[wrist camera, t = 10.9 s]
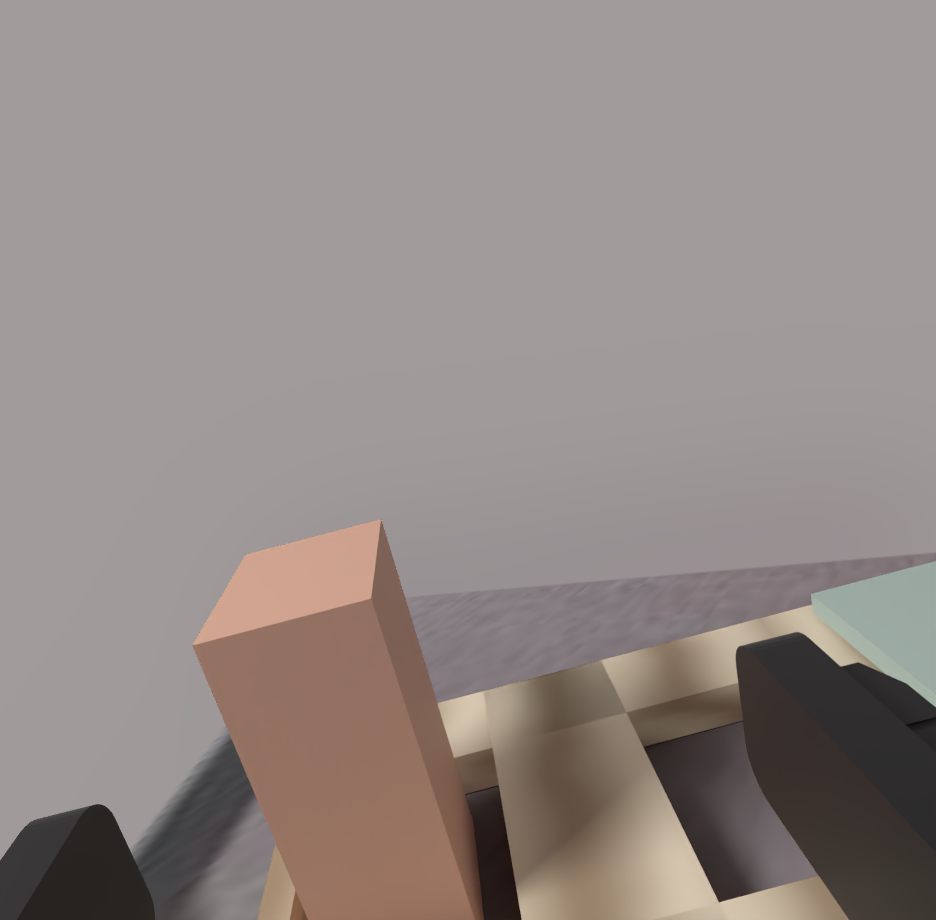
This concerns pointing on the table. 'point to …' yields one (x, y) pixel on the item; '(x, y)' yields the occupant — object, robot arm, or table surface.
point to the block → (343, 731)
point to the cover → (889, 623)
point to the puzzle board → (609, 781)
